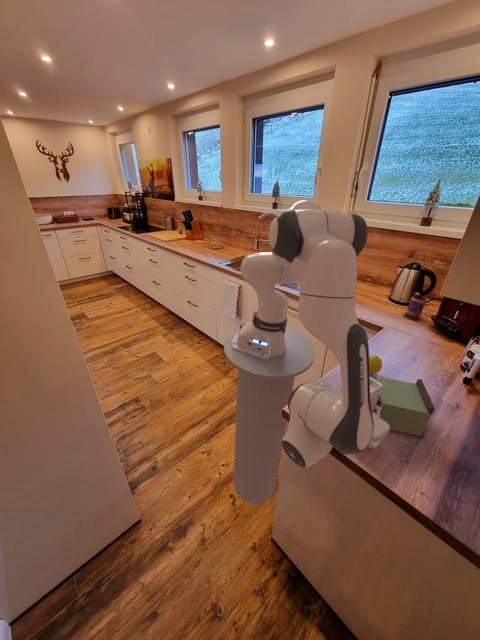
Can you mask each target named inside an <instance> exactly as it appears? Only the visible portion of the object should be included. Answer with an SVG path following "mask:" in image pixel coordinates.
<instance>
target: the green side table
mask: <svg viewBox="0 0 480 640" xmlns="http://www.w3.org/2000/svg"><path fill="white" fill-rule="evenodd" d="M375 376H376V377H375V378H374V380H376V381H377V382H379V383H381V384H382V385H383V388H382V390H381V393H380V395H379V398H378V400H377V402H378V403H381V404H380V405H379V407H381V408H382V411H381V413H380V418H381V419H382V420H384V421H385V422H387V423H388V424H389V426H390V431H395V432H400V433H403V434H407V435H412V436H416V437H421V436H422V434H423V432H424V430H425V428H426V426H427V425H428V423H429V421H430V419H431V417H432V416H433V414H434V412H435V411H436V407H435V406H434V403H433V401H432V399H431V396H430V395H429V392H428V390H427V388H426V386H425V384H424V382H423V379H422V378H417V380H416V382H415V383H413V382H409V381H403V380H398V379H393V378H388V377H383V376H379V375H375Z"/></svg>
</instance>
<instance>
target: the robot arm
mask: <svg viewBox="0 0 480 640" xmlns="http://www.w3.org/2000/svg"><path fill="white" fill-rule="evenodd" d="M267 236H268V243H269V248H270V252H267V251H266V252H262V251H261V252H254V253H249V254H246V255H245V256H244V257H243V258H242V261H241V263H240V274H241V277H242V279H243V280H244V281H245V283H247V284H248V285H250V286H251V287H252V289H253V290H254V291H255V293H256V296H257V309H255V310H254V311H253V315H252V319H251V321H249V322H247V323H239V329H240V331H239V333H238V334H236V335H235V337H234V338H233V340H232V349H234V350H236V351H239V352H242V353H245V354H248V355H251V356H254V357H257V358H260V359H263V360H267V359H269V358H271V357H276V356H280V355H282V354H283V353H284V352H285V351H286V344H285V331H286V328H288V327H287V326H288V317H287V315H288V307H289V299H288V297H287V296H286V295H285V293H283V292H281V290H280V291H279V290H277V289H276V288H275V287H276V285H294V284H299V283H300V286H299V298H298V305H297V306H298V316H299V321H300V322H301V324H302V326H303V327H304V328H305V330H306V331H307V332H308V333H309V334H310V335H311V336H313V337H314V338H316V339H317V340H319V341H320V342H321V343H322V344H324V345H325V346H326V347H327V348H328V350H330V352H331V353H332V354H333V355H334V356H335V358H336V359H337V362H338V364H339V367H340V380H341V381H340V383H341V384H340V385H341V386H336V387H335V386H334V385H332V384H331V383H329V382H328V381H322V382H320V383H319V384H318V385H317V384H315V383H313V382H310V381H308V382H307V381H306V382H303V383H301V384H299V385H297V386H296V387H295V388H294V389H293V392H292V393H291V394H290V396H289V399H288V409H289V414H288V416H289V422H288V427H287V429H286V432H285V435H284V437H283V439H282V446H283V449H282V450H283V452H284V453H285V455H287V457H288V459H290V460H291V462H293V463H294V464H296V465H297V466H298V467H300V468H304V469H306V468H310V467H312V466H313V465H315V464H317V463H318V462H320V461H321V460H322V459H324V458H325V457H326V456H327V455H328V454H330V453H331V451H332V449H333V448H334V449H335V450H337V451H338V452H339V453H341V454H342V455H354V454H359V453H362V452H364V451H366V450H367V449H368V448H370V449H377V448H378V447H379V445H380V444H381V442H382V441H383V440H385V439H386V437H388V435H389V433H390V432H391V429H390V426H389V424H388V423H387V422H385V421H384V420H382V419H381V418H380V413H381V411H382V408H381V407H380V405H377V404H376V405H375V407H374V410H373V413H372V411H371V403H370V377H371V374H370V367H369V357H370V348H369V347H370V346H369V339H368V334H367V330H366V329H365V328H364V327H362V325H361V324H360V322H359V319H358V317H357V312H356V303H355V302H356V292H357V279H358V278H357V277H358V273H357V272H358V269H357V268H358V266H357V265H358V264H357V262H358V261H357V257H358V256H359V255H360V254H361V253H362V252H363V250H364V249H365V246H366V244H367V241H368V237H369V230H368V225H367V222H366V219H364V217H362V216H361V215H360V214H355V213H353V212H350V211H349V212H348V211H347V212H342V211H338V210H331V209H322V208H321V206H320V205H319V204H318V203H316V202H314V201H312V200H308V199H302V200H299V201H297V202H295V203H294V204H292V205H291V207H289V208H287V209H282V210H278V211H277V212H276V213H275V215H273V217H272V220H271V223H270V225H269V228H268V235H267Z"/></svg>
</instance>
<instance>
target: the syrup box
mask: <svg viewBox="0 0 480 640" xmlns="http://www.w3.org/2000/svg"><path fill="white" fill-rule="evenodd" d="M382 388H383V385H382V384H381V383H379V382H377V381H376V380H375V378H373V377H372V376H370V403H371V411H372V413H373V410H374V407H375V406H377V403H378V401H377V400H378V398H379V395H380V393H381V390H382ZM373 414H374V413H373Z"/></svg>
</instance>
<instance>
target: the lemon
mask: <svg viewBox="0 0 480 640" xmlns="http://www.w3.org/2000/svg"><path fill="white" fill-rule="evenodd" d="M369 367H370V375H376V374H378V373H380V371H381V370H382V368H383V362H382V359H381V358H380V357H379V356H378V355H369Z"/></svg>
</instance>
